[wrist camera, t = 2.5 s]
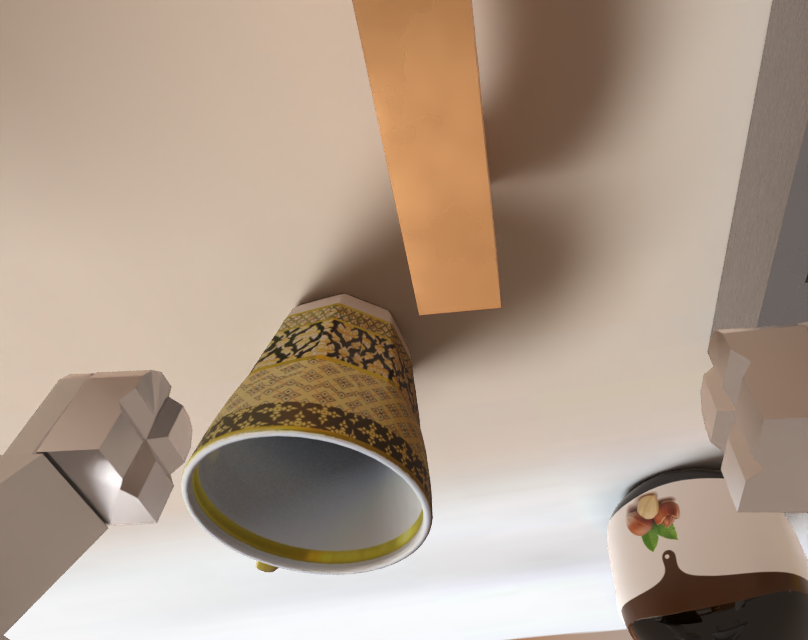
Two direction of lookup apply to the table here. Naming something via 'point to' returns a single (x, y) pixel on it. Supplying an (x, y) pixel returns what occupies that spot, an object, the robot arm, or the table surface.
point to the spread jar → (705, 564)
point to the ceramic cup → (319, 448)
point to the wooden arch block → (434, 146)
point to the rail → (772, 188)
